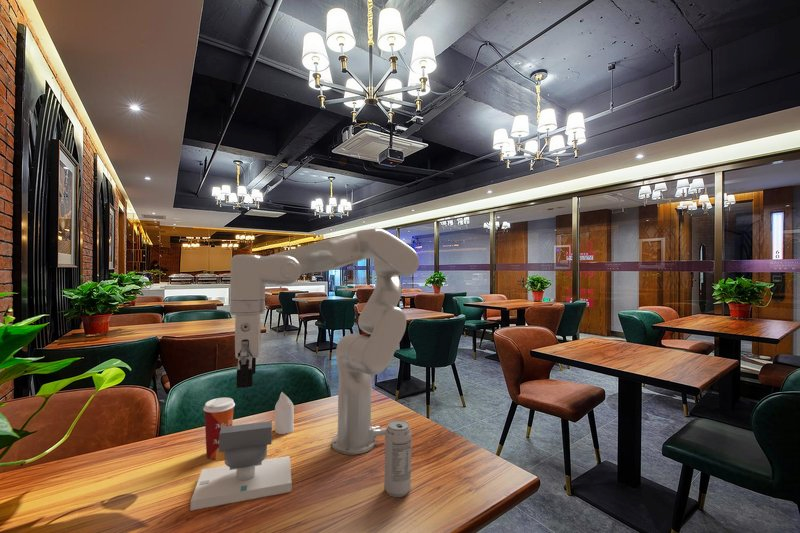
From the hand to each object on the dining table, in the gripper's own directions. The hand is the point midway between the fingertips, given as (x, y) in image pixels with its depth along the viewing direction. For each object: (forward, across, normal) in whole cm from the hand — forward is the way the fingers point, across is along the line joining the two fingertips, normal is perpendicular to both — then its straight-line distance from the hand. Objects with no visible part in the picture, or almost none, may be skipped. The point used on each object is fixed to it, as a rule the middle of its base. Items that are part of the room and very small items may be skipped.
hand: (246, 380), depth 81 cm
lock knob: (+18, 0, 0) cm, 18 cm away
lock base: (+24, 0, 0) cm, 24 cm away
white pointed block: (+24, +26, -9) cm, 37 cm away
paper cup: (+24, +17, +8) cm, 31 cm away
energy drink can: (+25, -13, -33) cm, 43 cm away
